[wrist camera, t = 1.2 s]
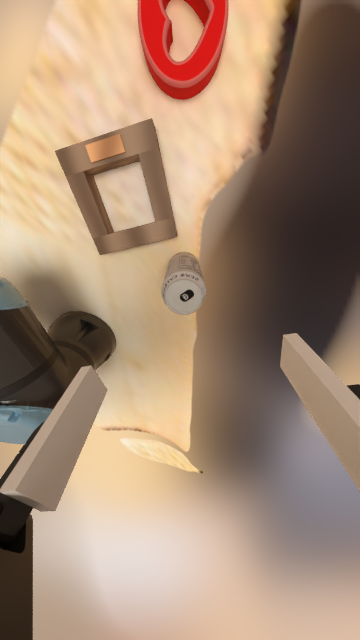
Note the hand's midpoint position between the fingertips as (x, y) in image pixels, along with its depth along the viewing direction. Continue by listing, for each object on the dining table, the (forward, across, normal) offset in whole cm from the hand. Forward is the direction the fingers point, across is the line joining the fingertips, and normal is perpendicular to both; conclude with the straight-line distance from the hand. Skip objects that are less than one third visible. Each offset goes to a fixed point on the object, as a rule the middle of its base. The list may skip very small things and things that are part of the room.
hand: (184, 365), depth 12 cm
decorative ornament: (+27, +6, +26) cm, 38 cm away
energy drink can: (+27, 0, 0) cm, 27 cm away
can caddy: (+26, -7, +13) cm, 30 cm away
